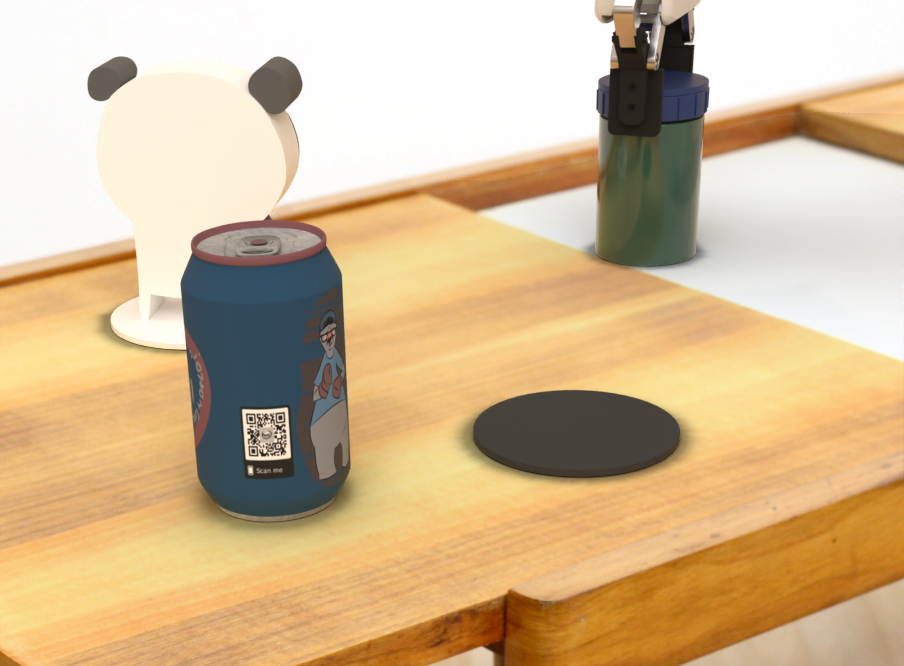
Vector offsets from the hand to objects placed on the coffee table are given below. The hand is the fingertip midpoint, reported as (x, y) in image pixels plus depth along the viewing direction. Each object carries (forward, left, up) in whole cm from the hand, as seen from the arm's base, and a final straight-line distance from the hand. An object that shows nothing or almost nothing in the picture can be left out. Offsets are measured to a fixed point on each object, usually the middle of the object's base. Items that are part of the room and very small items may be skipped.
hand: (650, 119), depth 99 cm
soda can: (+27, +33, -9) cm, 44 cm away
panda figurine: (+29, +7, -9) cm, 31 cm away
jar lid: (0, 0, +2) cm, 2 cm away
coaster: (+12, +29, -9) cm, 33 cm away
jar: (0, 0, -9) cm, 9 cm away
